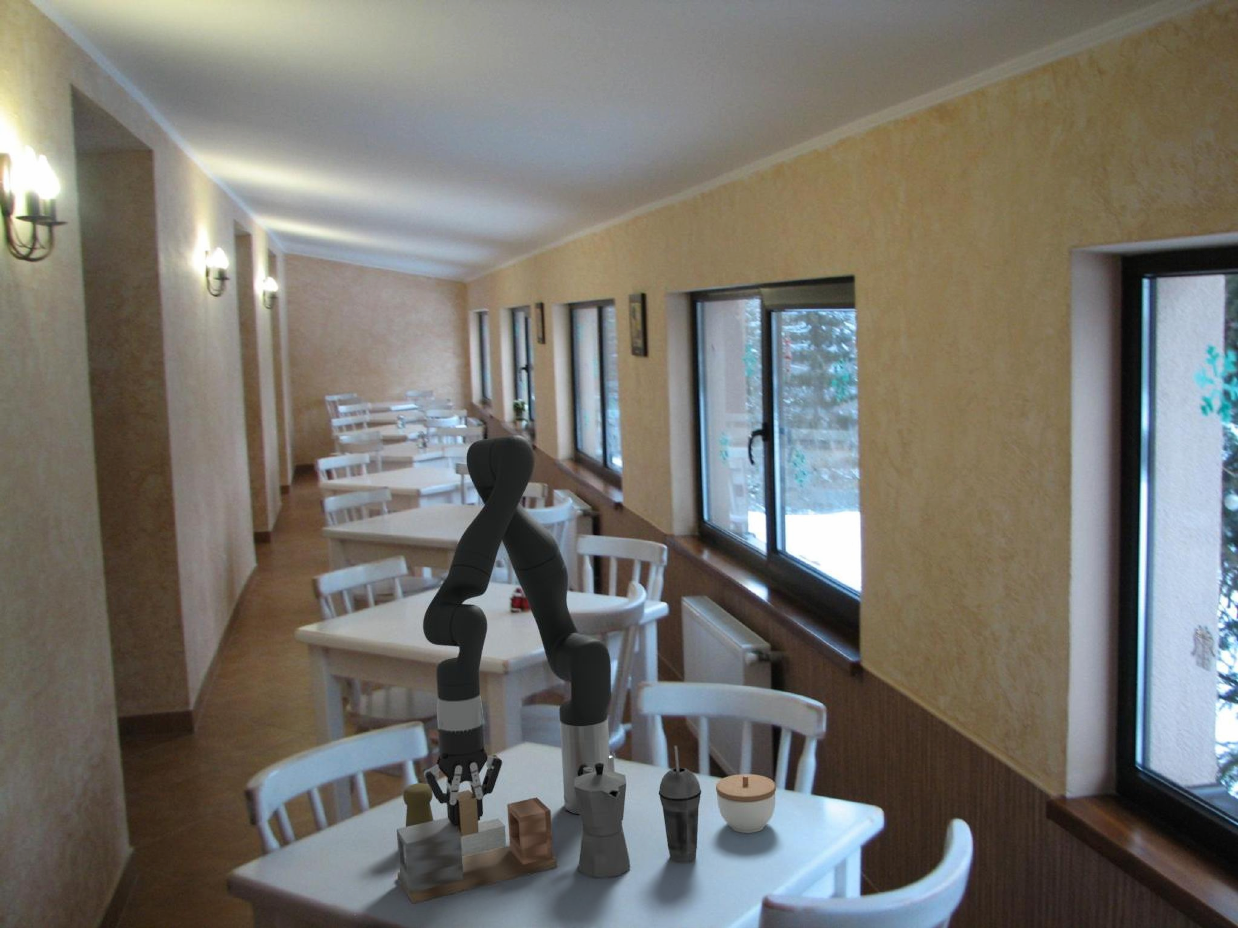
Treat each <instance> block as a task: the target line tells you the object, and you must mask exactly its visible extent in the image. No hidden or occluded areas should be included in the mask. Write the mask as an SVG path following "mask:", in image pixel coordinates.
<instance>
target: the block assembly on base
mask: <svg viewBox="0 0 1238 928" xmlns="http://www.w3.org/2000/svg"><path fill="white" fill-rule="evenodd" d="M506 805H507V806H506V807H507V820H508V821H507V822H508V823H507V824H508V837H509V839H508V840H509V845H506V846H505V847H501V848H497V849H493V850H489V851H485V852H481V853H476V854H472V855H468V856H464V857H462V849H461V834H460V830H459V829H458V828H457V827H456V826H454V825H453V824H452V823H451V822H450V821H449V819H448V817H444V818H440V819H435V820H434V821H430V822H426V823H421V824H417V825H413V826H408V827H406V826H404V827H401V828H400V827H399V828H396V841H397V852H398V863H399V864H398V866H399V867H398V868H399V872H397V879H398V881H399V883H400V884H401V886H402V888H403V889H404V891H405V892H406V894H407V896H408V897H409V899H410V900H411V902H412V904H416V903H420V902H424V901H425V902H426V901H428V900H431V899H435V898H440V897H444V896H447V895H451V893H452V894H456V893H460V892H463V891H462V890H464V891H467V889H468V890H470V889H469V888H472V889H475V888H478V887H479V888H480V887H482V886H486V885H491V884H495V883H498V882H502V881H507V880H510V879H514V878H518V877H521V876H525V875H529V874H533V873H534V874H535V873H537V872H541V871H546V870H549V869H553V868H557V867H558V860H557V859H556V858H555V857H554V845H553V830H552V811H551V809H550V808H549V807H548V806H547V805H546V804H545V803H543V802H542V801H541V800H540V798H538V797H537V796H536V797H533V798H528V799H523V800H520V801H515V802H511V803H507V804H506ZM403 845H404V846H405V848H406V862H407V865H406V864H405V862H404V857H403ZM459 891H460V892H459Z"/></svg>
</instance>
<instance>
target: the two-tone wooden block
mask: <svg viewBox="0 0 1238 928" xmlns="http://www.w3.org/2000/svg"><path fill="white" fill-rule="evenodd" d="M456 803H457V804H458V814H459V825H457V826H456V827H457V828H458V829H459V830H460V834H461V849H462V857H465V856H469V855H473V854H477V853H481V852H485V851H489V850H493V849H498V848H502V847H506V846H507V841H506V839H507V838H506V837H507V836H506V825H505V824H504V823H503V822H502V821H501V820H500V819H499V818H493V819H490V820H484V821H480V822H479V821H478V814H477V799H476V797H475V796H474V795H473V794H472V791H471V790H470V789H468V790H462V791H458V794H457V802H456ZM403 857H404V862H405V864H406V865H407V862H406V848H405V846H404V845H403Z"/></svg>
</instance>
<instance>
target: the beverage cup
mask: <svg viewBox="0 0 1238 928" xmlns="http://www.w3.org/2000/svg"><path fill="white" fill-rule="evenodd" d="M673 749H674V756H675V767H673V768H672V769H670V770H668V771H667V772H666V773H665V774H664V775H663V776H662V778H661V781H660V785H659V789H658V795H659V799H660V803H661V804H660V805H661V807H662V812H663V820H664V826H665V827H664V828H665V834H666V836H665V837H666V843H667V850H668V853H669V858H670V859H669V860H671V861H672V862H674V863H677V864H688V863H691V862H694V860H696V859H697V850H698V831H699V830H698V829H699V807H700V802H701V794H702V789H701V786H700V782H699V779H698V778H697V776H696V775H695V774H694V772H692V771H691V770H689V769H688V768H685V767H680V764H679V763H680V762H679V751H678V749H679V748H678V745H674V747H673Z"/></svg>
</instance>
